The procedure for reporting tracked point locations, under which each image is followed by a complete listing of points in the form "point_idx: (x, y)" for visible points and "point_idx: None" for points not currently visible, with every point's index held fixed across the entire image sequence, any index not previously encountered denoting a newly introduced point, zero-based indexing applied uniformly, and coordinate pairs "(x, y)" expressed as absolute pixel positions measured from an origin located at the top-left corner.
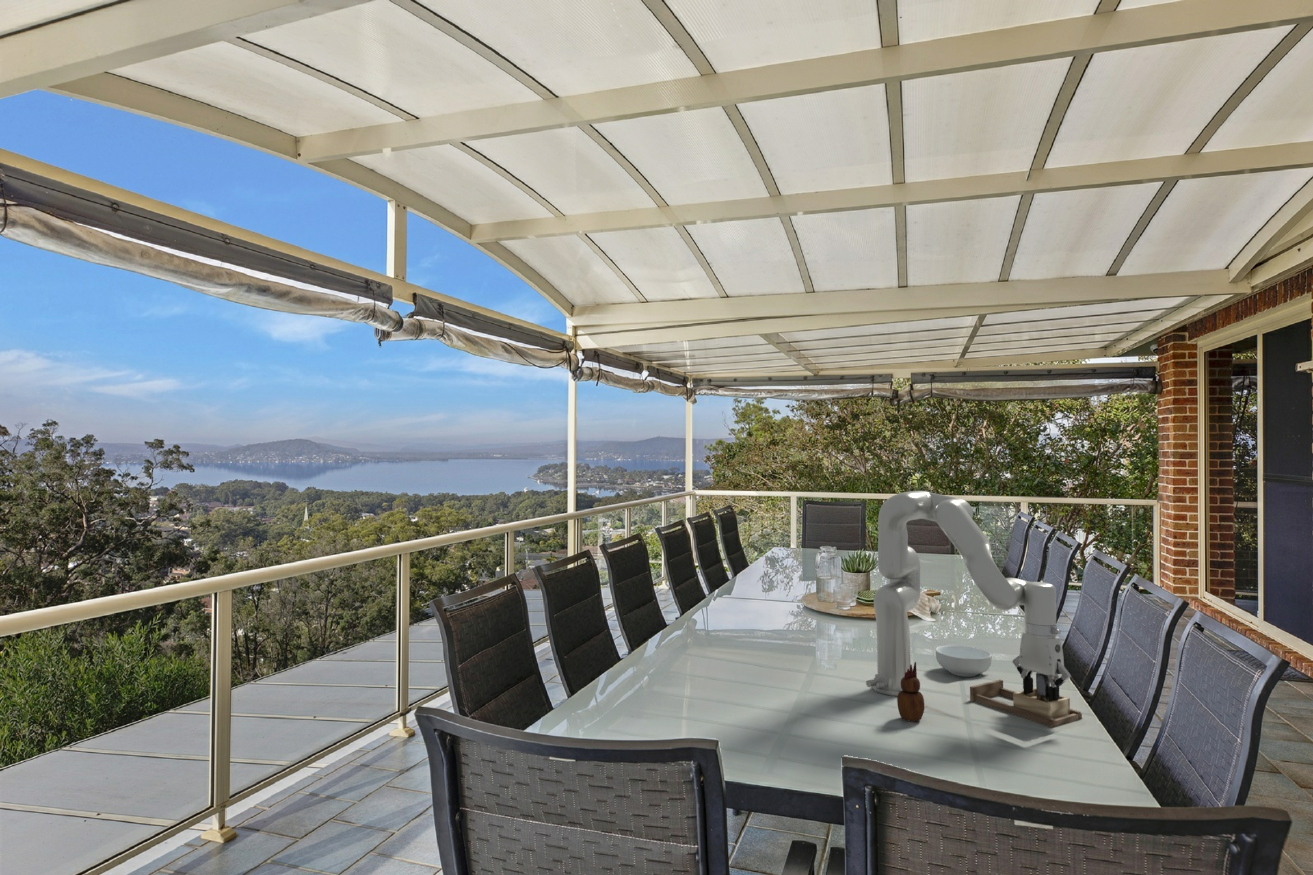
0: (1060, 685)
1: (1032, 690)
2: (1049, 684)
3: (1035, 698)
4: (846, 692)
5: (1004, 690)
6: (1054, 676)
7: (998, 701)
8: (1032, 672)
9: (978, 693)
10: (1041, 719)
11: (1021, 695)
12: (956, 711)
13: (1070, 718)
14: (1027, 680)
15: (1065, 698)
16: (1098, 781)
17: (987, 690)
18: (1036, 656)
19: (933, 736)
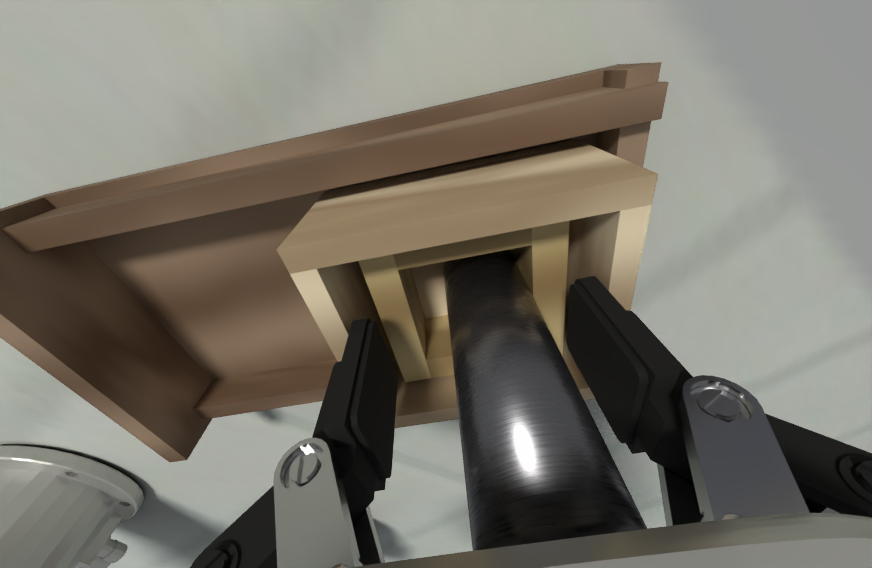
0: (731, 397)
1: (375, 336)
2: (592, 417)
3: (406, 298)
4: (125, 543)
5: (66, 243)
6: (727, 516)
7: (317, 393)
8: (345, 511)
9: (183, 401)
10: None
11: (427, 421)
12: (297, 442)
13: None
14: (386, 467)
15: (633, 220)
16: (833, 430)
17: (128, 356)
18: None
19: (452, 523)
